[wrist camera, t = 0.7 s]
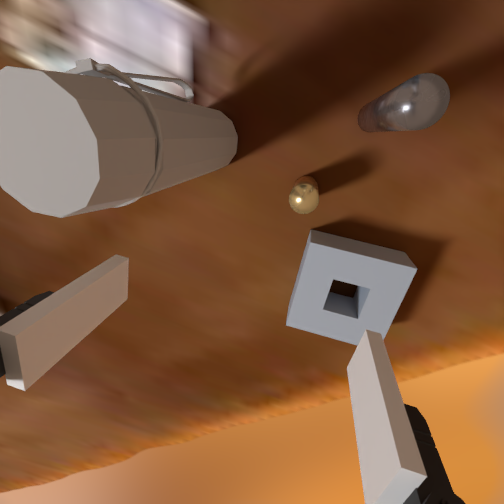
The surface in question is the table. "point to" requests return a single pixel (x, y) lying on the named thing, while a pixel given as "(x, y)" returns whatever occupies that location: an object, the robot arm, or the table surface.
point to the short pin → (304, 195)
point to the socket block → (354, 272)
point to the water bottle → (101, 138)
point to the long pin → (407, 105)
